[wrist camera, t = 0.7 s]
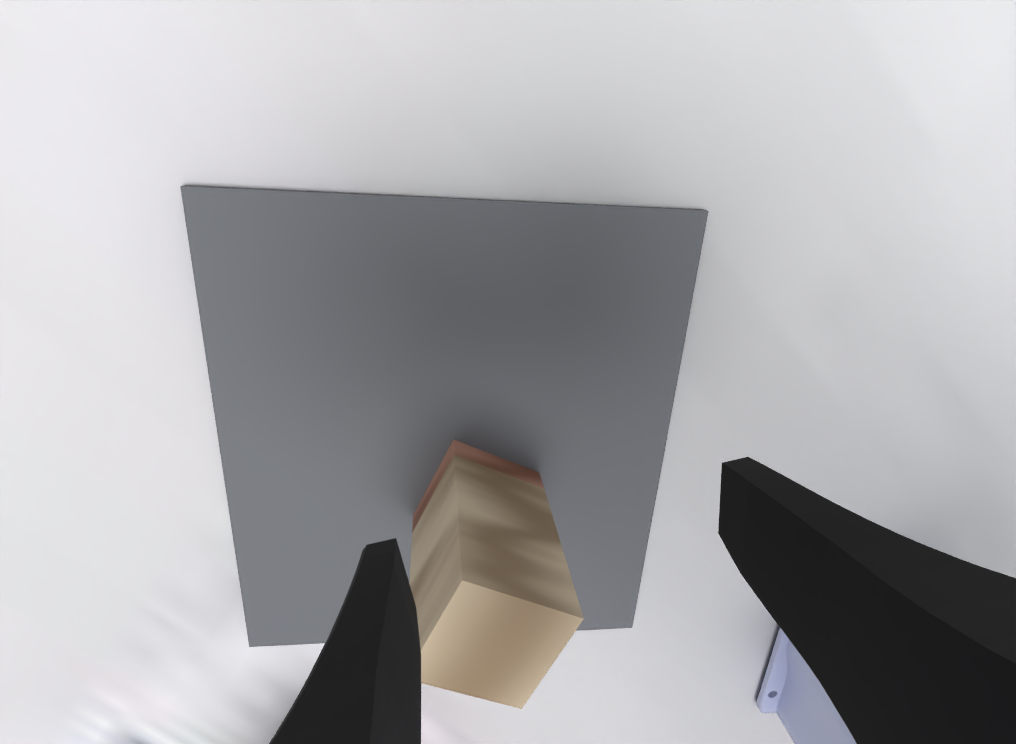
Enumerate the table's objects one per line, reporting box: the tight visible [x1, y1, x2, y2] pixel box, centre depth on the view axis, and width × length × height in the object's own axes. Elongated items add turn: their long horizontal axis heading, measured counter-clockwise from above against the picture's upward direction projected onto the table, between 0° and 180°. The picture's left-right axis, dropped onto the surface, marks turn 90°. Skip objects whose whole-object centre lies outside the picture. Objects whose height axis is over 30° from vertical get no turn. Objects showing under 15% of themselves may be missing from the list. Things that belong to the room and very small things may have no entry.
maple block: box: [409, 439, 584, 709], centre depth 21 cm, size 4×4×8 cm
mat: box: [181, 186, 708, 647], centre depth 24 cm, size 20×18×1 cm
